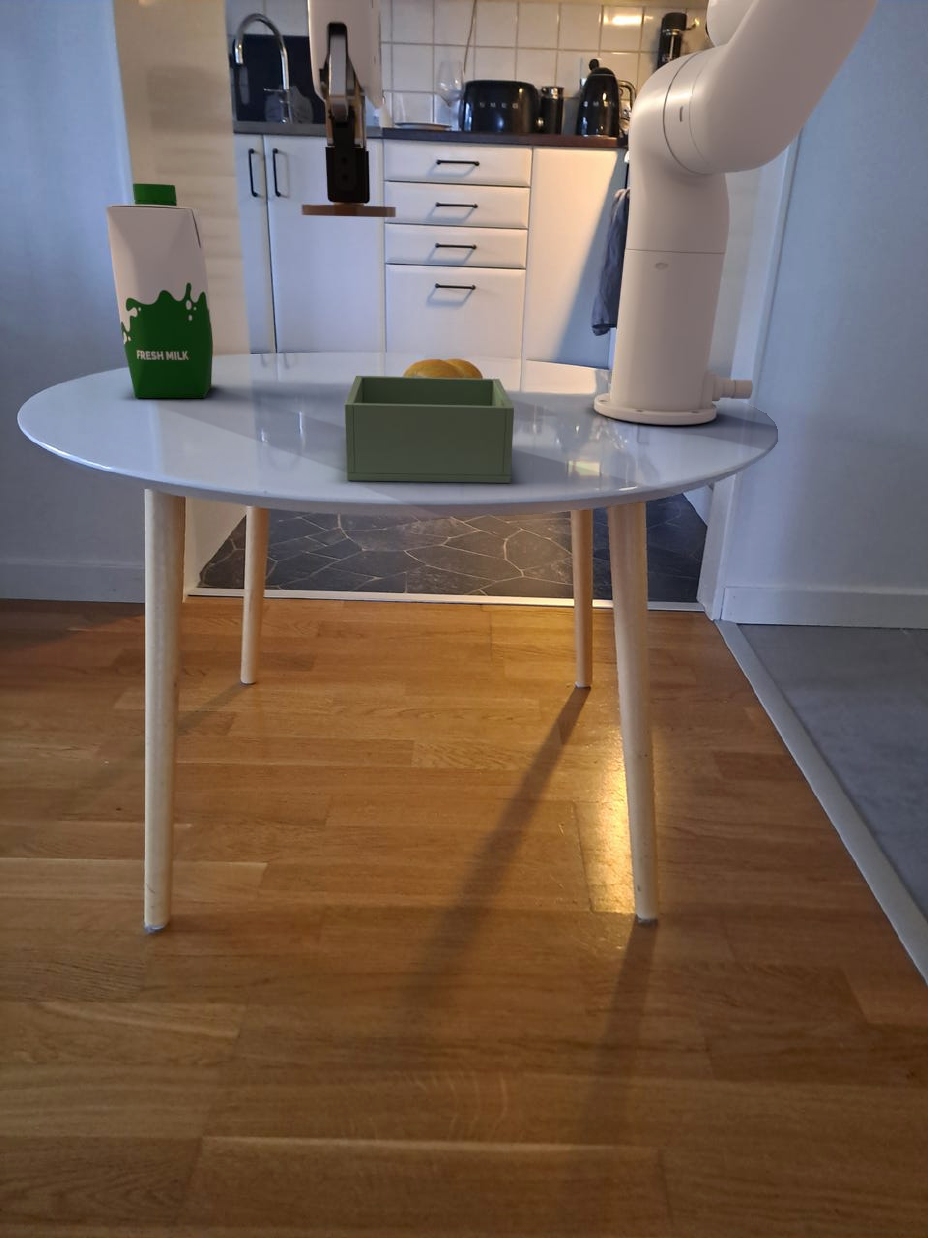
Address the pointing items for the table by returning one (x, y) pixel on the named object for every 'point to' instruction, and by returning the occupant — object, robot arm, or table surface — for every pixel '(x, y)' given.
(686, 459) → the table surface
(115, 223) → the milk carton
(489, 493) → the table surface
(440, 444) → the tub
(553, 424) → the table surface
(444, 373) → the bread roll
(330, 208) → the wooden peg stand
